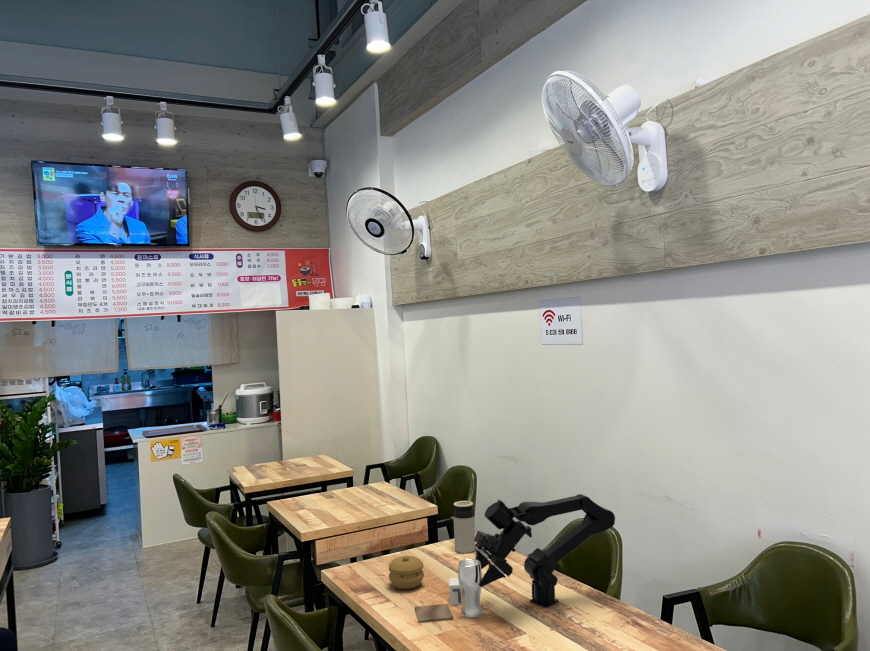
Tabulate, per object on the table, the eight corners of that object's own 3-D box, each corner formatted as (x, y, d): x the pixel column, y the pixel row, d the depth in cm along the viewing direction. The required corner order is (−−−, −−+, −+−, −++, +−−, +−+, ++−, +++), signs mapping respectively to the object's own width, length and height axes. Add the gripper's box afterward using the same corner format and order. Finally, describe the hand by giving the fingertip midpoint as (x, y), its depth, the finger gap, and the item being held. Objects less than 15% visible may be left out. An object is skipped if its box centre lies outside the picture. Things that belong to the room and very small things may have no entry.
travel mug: (479, 550, 247) (477, 503, 247) (462, 555, 243) (460, 507, 243) (468, 545, 254) (466, 499, 254) (451, 549, 250) (449, 502, 250)
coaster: (447, 605, 198) (447, 603, 198) (453, 619, 188) (453, 617, 188) (414, 608, 196) (414, 606, 196) (418, 622, 186) (418, 620, 186)
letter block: (469, 605, 197) (468, 585, 198) (449, 605, 198) (449, 585, 198) (469, 596, 204) (468, 577, 204) (450, 597, 204) (449, 578, 204)
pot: (384, 592, 210) (383, 561, 210) (395, 578, 222) (394, 549, 222) (419, 594, 207) (418, 562, 208) (428, 580, 219) (427, 550, 219)
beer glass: (484, 618, 187) (481, 566, 188) (460, 619, 188) (458, 567, 188) (482, 608, 194) (480, 558, 195) (459, 609, 195) (457, 558, 195)
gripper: (479, 513, 202) (447, 553, 199) (500, 530, 184) (465, 574, 181) (504, 536, 204) (472, 576, 201) (527, 554, 186) (492, 598, 183)
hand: (474, 580), depth 192 cm, fingers open, 9 cm apart
